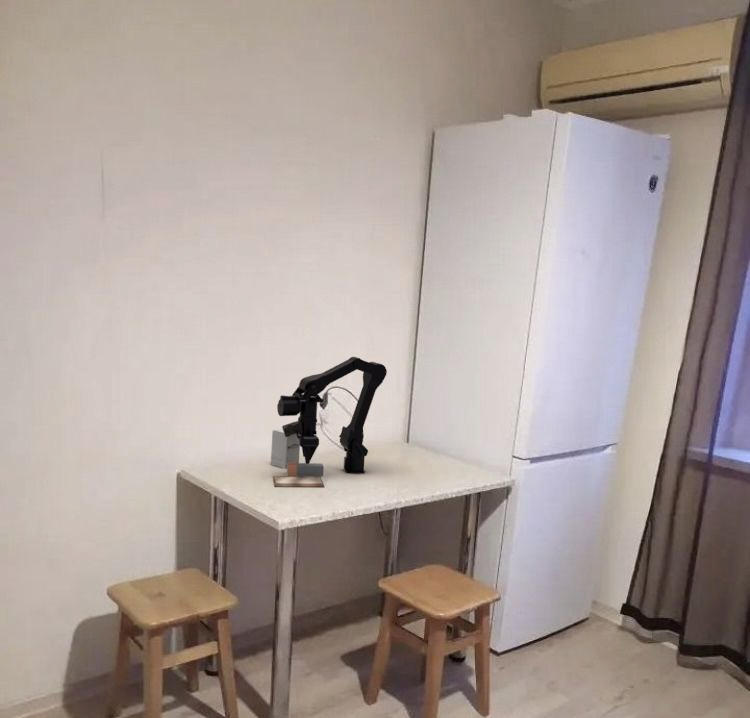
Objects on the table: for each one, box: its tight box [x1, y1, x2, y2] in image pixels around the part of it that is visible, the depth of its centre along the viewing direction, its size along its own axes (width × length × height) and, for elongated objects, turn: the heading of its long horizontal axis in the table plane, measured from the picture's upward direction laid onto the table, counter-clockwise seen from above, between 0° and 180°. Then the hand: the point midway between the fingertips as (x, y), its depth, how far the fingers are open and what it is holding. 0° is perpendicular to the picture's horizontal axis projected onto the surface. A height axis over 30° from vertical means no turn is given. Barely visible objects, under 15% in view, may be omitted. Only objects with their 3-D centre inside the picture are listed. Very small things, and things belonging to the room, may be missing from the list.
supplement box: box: [270, 428, 301, 469], centre depth 254 cm, size 7×7×13 cm
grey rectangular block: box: [286, 462, 324, 478], centre depth 243 cm, size 12×4×4 cm, turn 101°
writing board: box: [272, 475, 325, 488], centre depth 234 cm, size 16×11×1 cm
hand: (305, 460), depth 243 cm, fingers open, 9 cm apart
